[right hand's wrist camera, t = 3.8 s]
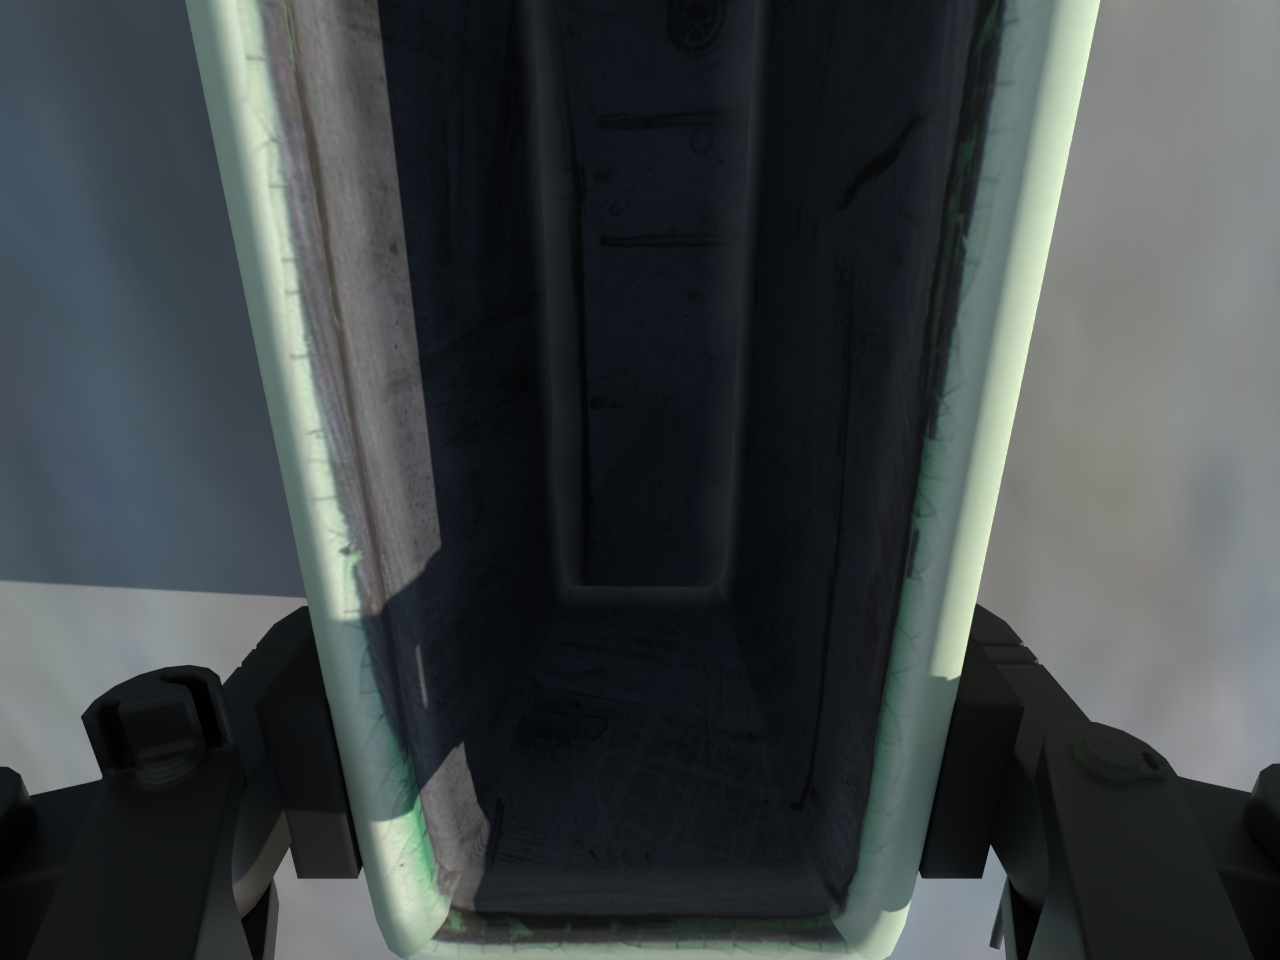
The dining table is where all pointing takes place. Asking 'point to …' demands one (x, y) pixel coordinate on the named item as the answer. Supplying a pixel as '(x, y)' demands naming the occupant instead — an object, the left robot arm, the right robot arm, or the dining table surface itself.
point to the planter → (641, 435)
